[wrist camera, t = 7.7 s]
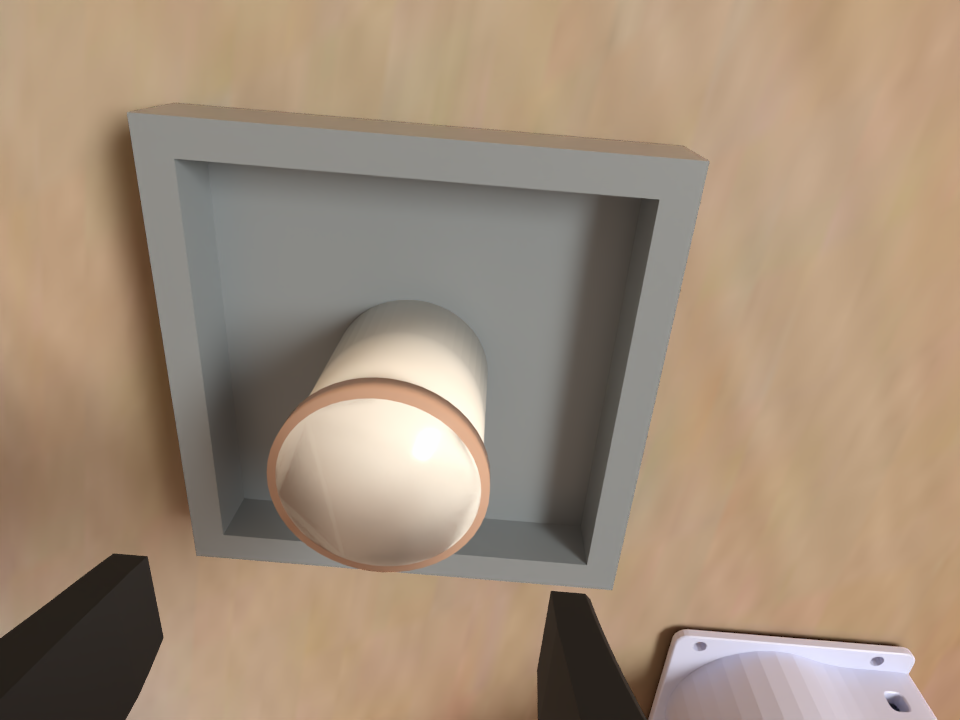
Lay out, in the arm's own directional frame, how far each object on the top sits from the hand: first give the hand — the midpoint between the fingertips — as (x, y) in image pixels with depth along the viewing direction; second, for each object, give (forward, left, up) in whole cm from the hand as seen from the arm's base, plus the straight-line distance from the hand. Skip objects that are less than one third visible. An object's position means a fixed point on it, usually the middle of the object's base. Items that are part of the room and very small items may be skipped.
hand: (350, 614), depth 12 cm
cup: (0, 0, -10) cm, 10 cm away
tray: (0, 0, -10) cm, 10 cm away
